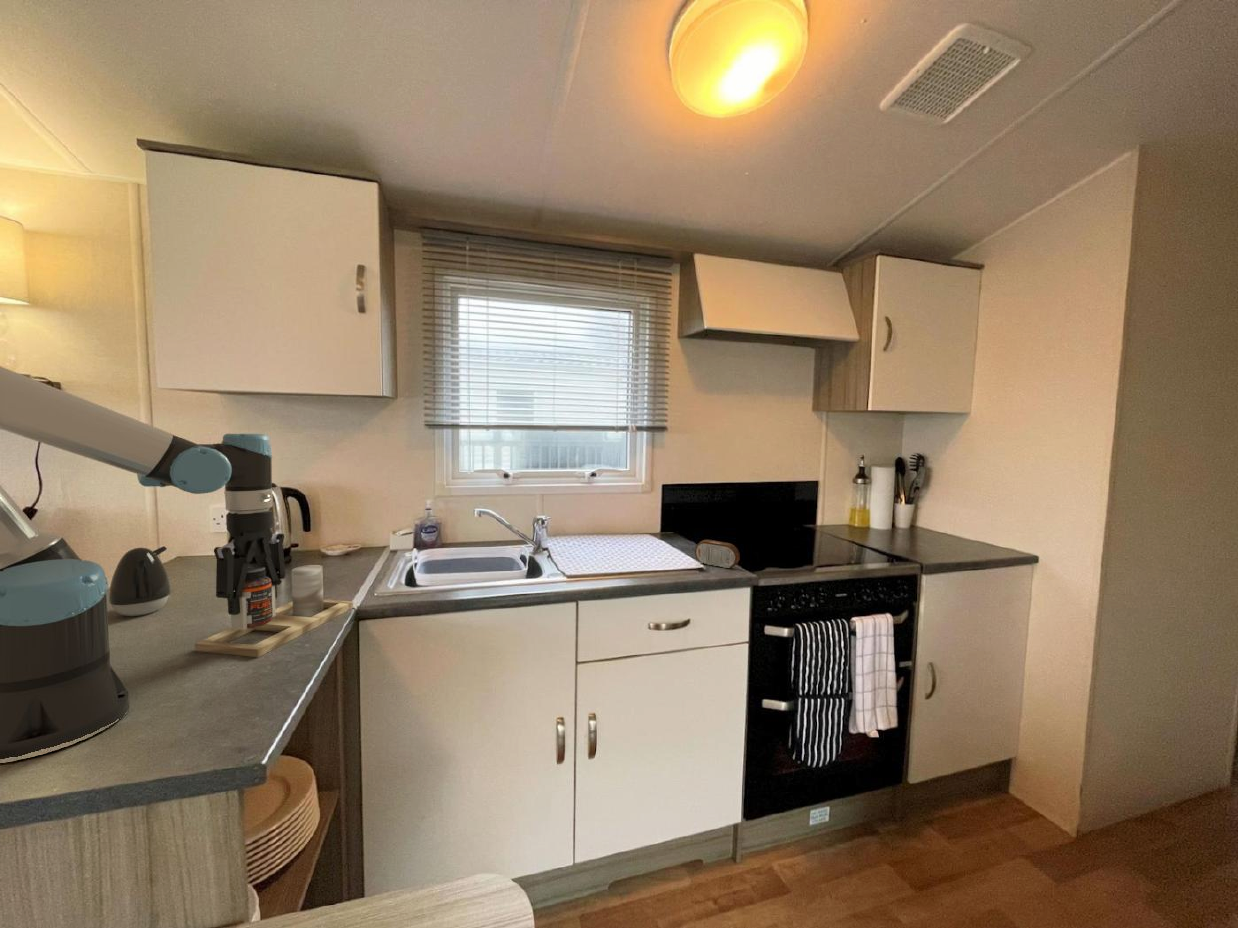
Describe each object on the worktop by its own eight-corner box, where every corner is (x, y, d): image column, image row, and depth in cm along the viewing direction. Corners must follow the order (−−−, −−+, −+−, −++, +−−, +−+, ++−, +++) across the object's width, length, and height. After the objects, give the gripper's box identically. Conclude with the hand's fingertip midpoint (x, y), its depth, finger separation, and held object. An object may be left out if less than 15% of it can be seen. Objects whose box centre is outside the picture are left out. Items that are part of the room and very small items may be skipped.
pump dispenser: (183, 606, 115) (180, 544, 114) (129, 623, 105) (125, 555, 104) (153, 601, 118) (150, 540, 117) (98, 617, 108) (94, 551, 107)
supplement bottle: (252, 630, 94) (250, 574, 93) (228, 627, 95) (225, 572, 95) (280, 619, 100) (278, 566, 99) (256, 616, 101) (254, 564, 100)
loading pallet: (258, 657, 91) (256, 600, 90) (195, 650, 93) (192, 595, 92) (353, 607, 117) (352, 563, 116) (302, 603, 119) (301, 559, 118)
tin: (739, 569, 157) (740, 543, 157) (736, 571, 154) (737, 545, 154) (696, 561, 165) (697, 537, 165) (693, 563, 162) (694, 539, 162)
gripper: (220, 519, 86) (226, 644, 88) (304, 503, 105) (307, 606, 106) (185, 517, 87) (191, 640, 89) (274, 502, 106) (277, 604, 108)
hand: (254, 621), depth 98 cm, fingers closed on supplement bottle, 6 cm apart
